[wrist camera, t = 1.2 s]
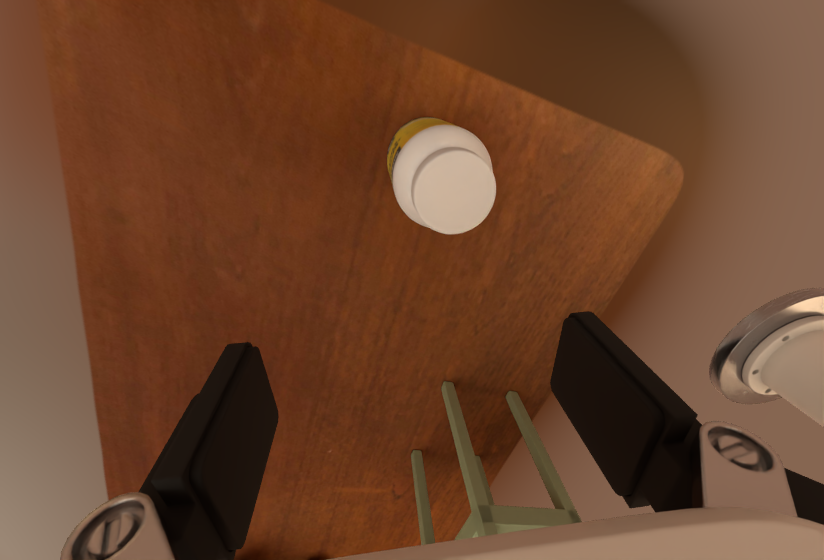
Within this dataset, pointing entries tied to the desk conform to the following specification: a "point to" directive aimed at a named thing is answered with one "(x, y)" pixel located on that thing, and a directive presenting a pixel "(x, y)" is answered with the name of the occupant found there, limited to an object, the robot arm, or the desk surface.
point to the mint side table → (484, 511)
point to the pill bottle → (441, 175)
